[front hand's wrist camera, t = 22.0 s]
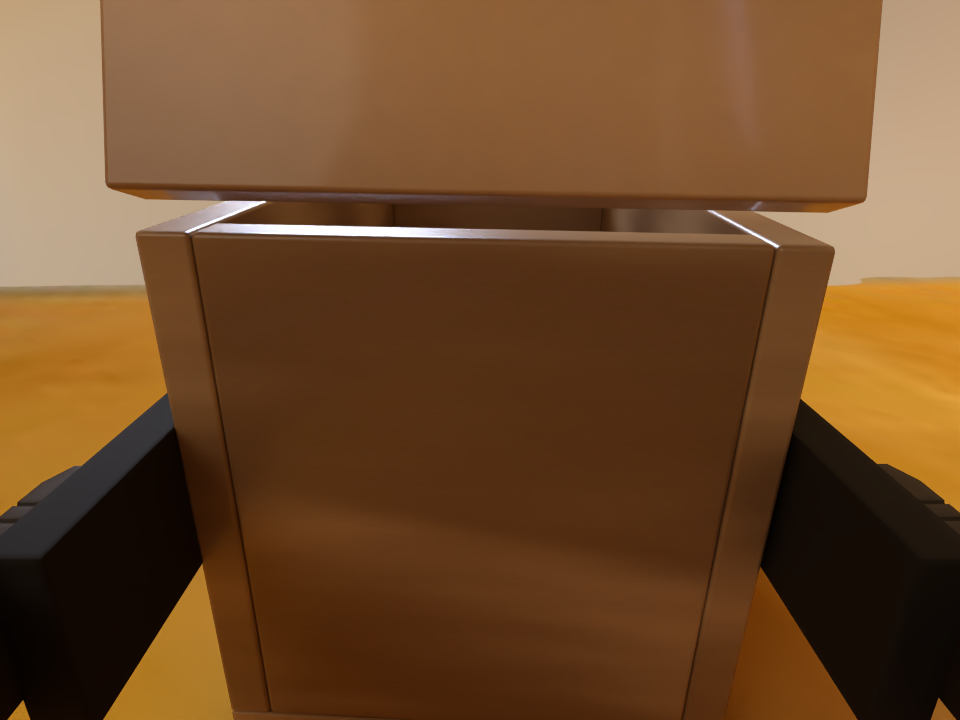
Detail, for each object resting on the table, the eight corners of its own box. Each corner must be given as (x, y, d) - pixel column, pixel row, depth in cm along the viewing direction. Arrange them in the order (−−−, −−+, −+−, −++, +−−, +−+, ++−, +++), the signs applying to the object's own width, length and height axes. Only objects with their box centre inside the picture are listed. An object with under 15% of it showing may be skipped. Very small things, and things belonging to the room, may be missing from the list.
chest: (386, 392, 28) (374, 150, 24) (601, 399, 27) (625, 154, 23) (235, 739, 13) (131, 231, 9) (714, 765, 12) (839, 246, 8)
